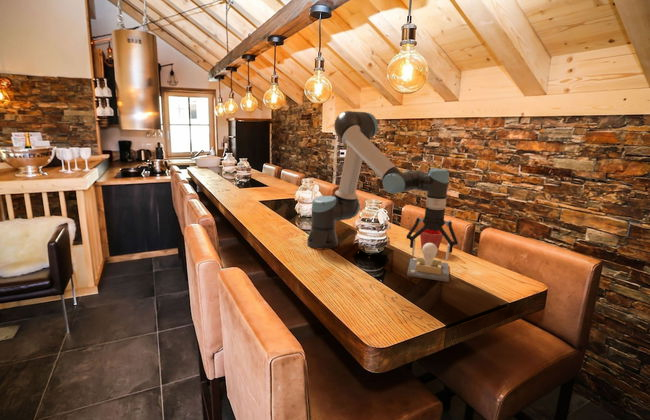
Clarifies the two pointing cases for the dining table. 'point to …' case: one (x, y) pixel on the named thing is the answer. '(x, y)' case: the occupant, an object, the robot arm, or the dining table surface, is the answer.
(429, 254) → the lightbulb
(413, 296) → the dining table surface
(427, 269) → the board
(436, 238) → the flower pot
